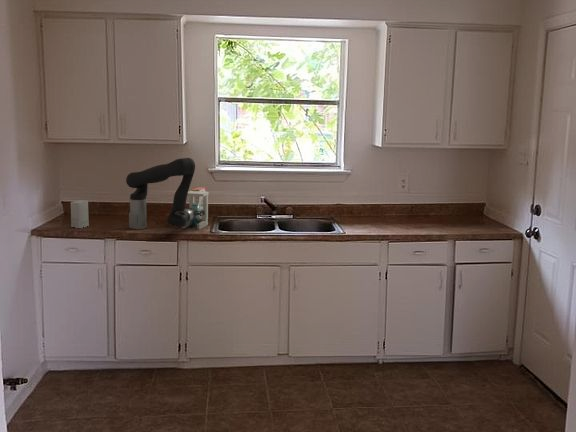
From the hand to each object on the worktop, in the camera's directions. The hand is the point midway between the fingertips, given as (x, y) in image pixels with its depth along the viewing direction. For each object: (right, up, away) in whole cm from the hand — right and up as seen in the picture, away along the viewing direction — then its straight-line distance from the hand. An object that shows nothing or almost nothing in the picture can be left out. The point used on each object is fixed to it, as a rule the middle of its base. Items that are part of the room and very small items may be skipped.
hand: (196, 210), depth 358 cm
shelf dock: (-1, -9, -1) cm, 10 cm away
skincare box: (-66, -10, -15) cm, 69 cm away
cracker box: (-1, -6, +19) cm, 20 cm away
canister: (-1, -9, 0) cm, 9 cm away
